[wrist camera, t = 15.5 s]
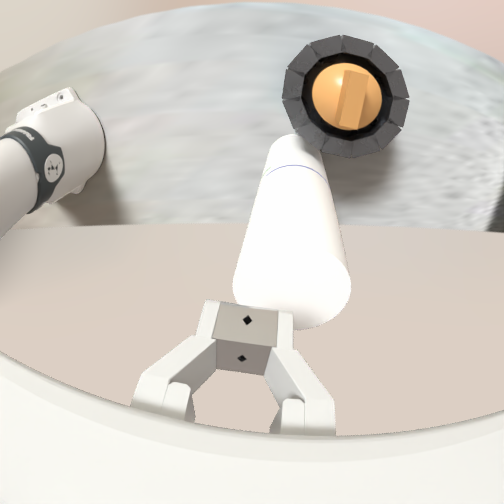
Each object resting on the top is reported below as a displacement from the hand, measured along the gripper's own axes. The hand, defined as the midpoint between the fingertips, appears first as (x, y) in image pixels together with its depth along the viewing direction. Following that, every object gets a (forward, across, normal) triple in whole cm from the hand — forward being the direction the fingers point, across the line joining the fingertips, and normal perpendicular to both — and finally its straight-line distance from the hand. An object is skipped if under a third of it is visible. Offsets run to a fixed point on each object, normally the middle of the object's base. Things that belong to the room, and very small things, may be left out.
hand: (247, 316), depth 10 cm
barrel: (+31, -7, -6) cm, 32 cm away
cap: (+23, -6, -6) cm, 25 cm away
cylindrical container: (+31, -3, +4) cm, 32 cm away
